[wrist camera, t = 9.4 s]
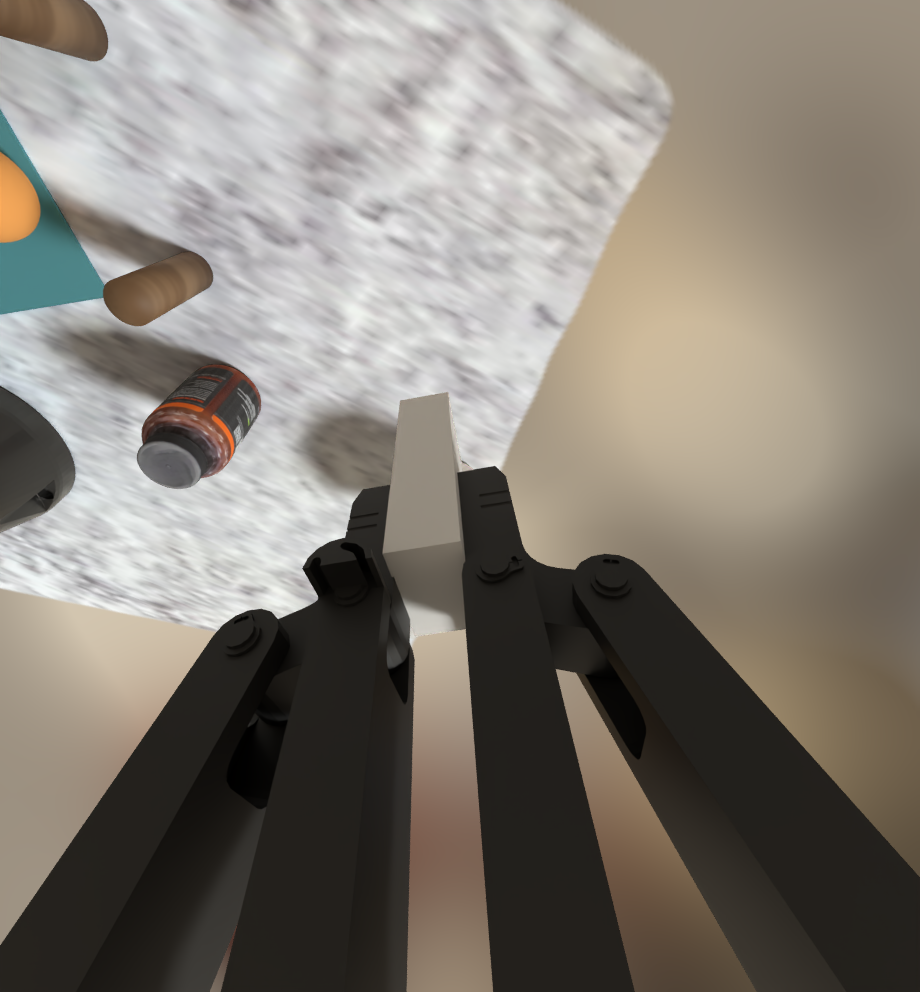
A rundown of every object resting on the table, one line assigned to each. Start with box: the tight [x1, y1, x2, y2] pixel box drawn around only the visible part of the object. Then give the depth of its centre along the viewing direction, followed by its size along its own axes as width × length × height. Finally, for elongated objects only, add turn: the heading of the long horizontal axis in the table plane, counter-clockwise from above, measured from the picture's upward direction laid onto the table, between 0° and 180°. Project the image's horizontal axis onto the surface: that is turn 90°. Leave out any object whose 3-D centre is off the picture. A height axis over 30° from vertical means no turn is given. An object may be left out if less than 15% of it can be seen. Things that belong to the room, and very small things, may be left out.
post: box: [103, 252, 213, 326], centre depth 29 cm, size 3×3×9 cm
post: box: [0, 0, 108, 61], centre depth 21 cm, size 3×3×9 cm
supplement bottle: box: [137, 365, 261, 489], centre depth 34 cm, size 6×6×11 cm
